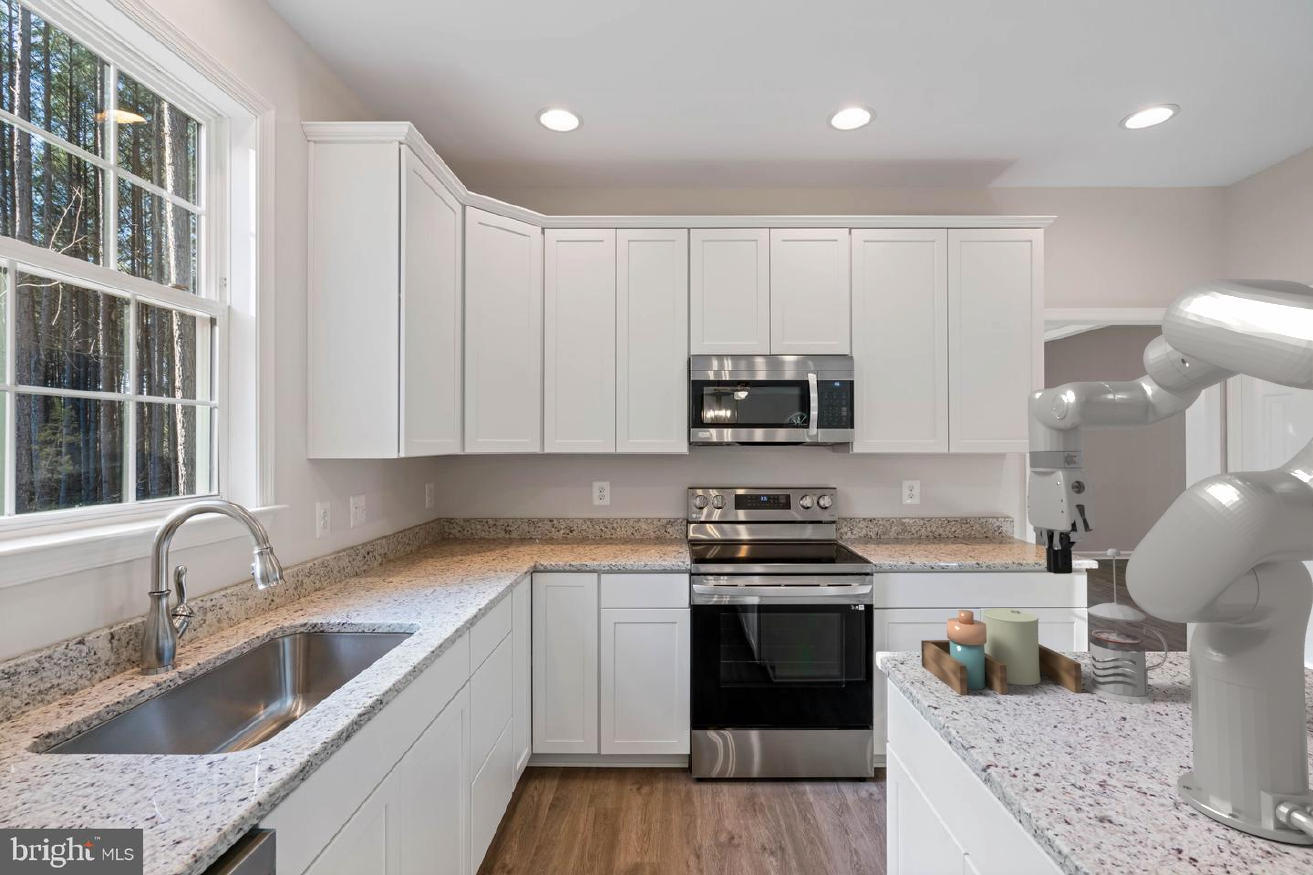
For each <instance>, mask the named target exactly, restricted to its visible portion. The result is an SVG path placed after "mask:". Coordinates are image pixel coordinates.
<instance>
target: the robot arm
mask: <svg viewBox="0 0 1313 875" xmlns="http://www.w3.org/2000/svg"><path fill="white" fill-rule="evenodd" d="M1161 332H1162V334H1160V335H1158V336H1157V337H1154V338H1153V339H1152V340H1150V342H1149V343H1148V344H1147V345H1146V347H1145V349H1144V351H1143V355H1142V358H1143V360H1142V361H1143V365H1144V369H1145V371H1146V373H1147V374H1145V375H1143V376H1141V377H1139V378H1136V379H1134V380H1130V381H1119V380H1118V381H1117V380H1116V381H1073V382H1068V383H1064V384H1061V385H1058V386H1056V387H1051V388H1050V387H1049V388H1044V389H1037V390H1034V391H1031V392H1030V393H1029V395H1028V396H1027V397H1028V398H1027V422H1028V423H1027V429H1028V455H1029V456H1028V458H1029V475H1028V483H1027V484H1028V485H1027V503H1026V506H1027V507H1026V508H1027V519H1028V523H1029V524H1030V525H1031V526H1032V527H1033V528H1032V530H1033V532H1034V534H1037V535H1039V536H1041V539H1042V543H1043V547H1044V548H1045V554H1046V557H1045V558H1046V571H1047V572H1048V573H1052V574H1055V575H1057V574H1058V575H1062V574H1063V575H1067V574H1068V575H1069V574H1072V573H1073V550H1074V549H1075V547H1076V546H1075V544H1076V543H1077V542H1084V541H1086V540H1087V535H1086V533H1090V532H1094V530H1095V528H1096V518H1095V517H1096V516H1095V507H1094V506H1095V505H1094V499H1093V498H1094V496H1093V492H1092V485H1091V482H1090V477H1089V474H1088V471H1086V470H1085V462H1084V457H1085V455H1084V433H1083V432H1084V431H1127V430H1128V431H1130V430H1136V429H1141V428H1146V427H1148V426H1152V425H1154V424H1156V423H1159V422H1161V421H1164V420H1167V419H1169V418H1172V417H1175V416H1177V415H1179V414H1181V413H1183V412H1185V411H1187V410H1188V409H1189V408H1190V407H1192V406H1193V404H1194V403H1195V402H1196V401H1197V400H1198V398H1199V397H1200V396H1201V393H1202V392H1203V391H1204V390H1206V389H1208V388H1211V387H1213V386H1216V385H1218V384H1219V383H1222V382H1224V381H1226V380H1229V379H1231V378H1234V377H1235V376H1236V377H1237V376H1238V375H1240V374H1242V375H1245V376H1248V377H1252V378H1255V379H1259V380H1262V381H1266V382H1268V383H1273V384H1277V385H1280V386H1284V387H1290V388H1296V389H1300V390H1307V391H1308V390H1310V391H1313V287H1312V286H1309V285H1307V284H1303V283H1301V282H1297V281H1293V280H1286V279H1285V280H1284V279H1256V278H1254V279H1246V278H1245V279H1244V278H1243V279H1242V278H1241V279H1239V278H1237V279H1236V278H1219V279H1211V280H1207V281H1203V282H1201V283H1198V284H1195V285H1192V286H1191V287H1189V288H1187V289H1186V290H1184V291H1182V292H1181V293H1180V294H1179V295H1177V296H1176V297H1175V298H1174V299H1173V300H1172V302H1170V303H1169V305H1168V306H1167V308H1166V309H1165V312H1164V313H1163V317H1162V321H1161ZM1307 561H1309V562H1311V561H1313V437H1311V438H1310V440H1309V441H1308V442H1307V443H1306V445H1304V446H1303V448H1302V449H1300V450H1299V451H1298V452H1297V453H1296V454H1295V455H1294V456H1293V457H1292V458H1290V459H1289V460H1288V461H1287V462H1286V463H1284V464H1283V465H1281V466H1279V467H1277V468H1273V469H1267V470H1261V471H1258V470H1257V471H1256V470H1255V471H1230V472H1223V473H1217V474H1213V475H1210V476H1208V477H1204V478H1203V479H1201V480H1199V481H1197V482H1195V483H1194V484H1192V485H1190V486H1189V487H1187V488H1186V489H1185V490H1184V491H1183V492H1181V494H1180V495H1179V496H1178V497H1177V498H1176V499H1175V500H1174V501H1173V502H1172V504H1171V505H1170V506H1169V507H1168V508H1167V509H1166V511H1165V512H1164V513H1163V514H1162V515H1161V517H1160V518H1159V519H1158V520H1157V522H1156V523H1154V525H1153V526H1152V527H1151V528H1150V530H1149V531H1147V533H1146V535H1145V536H1144V537H1143V538H1142V539H1141V541H1140V542H1139V543H1138V544H1137V546H1135V549H1134V550H1133V551H1132V553H1131V554H1130V557H1129V559H1128V561H1127V564H1126V568H1125V569H1126V570H1125V585H1126V589H1127V591H1128V593H1129V595H1130V597H1131V599H1132V600H1133V601H1134V604H1136V605H1137V606H1138V607H1139V608H1140V609H1141V610H1142V611H1144V612H1146V613H1147V614H1148V615H1150V616H1151V617H1154V618H1157V619H1159V620H1161V621H1165V622H1166V621H1167V622H1170V623H1179V624H1196V625H1195V627H1194V630H1193V632H1192V634H1191V639H1190V644H1189V655H1188V656H1189V677H1190V678H1189V681H1190V683H1189V684H1190V687H1189V688H1190V706H1191V707H1190V708H1191V712H1190V713H1191V732H1192V734H1191V736H1192V737H1191V738H1192V757H1193V758H1192V759H1193V762H1192V763H1193V771H1190V772H1185V773H1184V774H1181V775H1179V777H1178V778H1177V781H1176V782H1177V786H1176V787H1177V792H1178V794H1179V795H1180V797H1181V798H1182V799H1183V800H1185V801H1186V802H1187V804H1188V805H1190V806H1191V807H1193V808H1194V809H1196V810H1197V811H1198V812H1200V813H1201V814H1204V815H1205V816H1207V817H1209V818H1211V819H1213V820H1215V821H1217V822H1219V823H1221V824H1224V825H1226V826H1228V827H1231V828H1234V829H1235V830H1239V831H1242V832H1245V833H1248V834H1251V835H1254V836H1258V837H1261V838H1265V839H1268V840H1274V841H1278V842H1281V843H1282V842H1283V843H1288V844H1296V845H1313V790H1311V789H1310V773H1309V755H1308V754H1309V750H1308V729H1307V726H1308V725H1307V709H1306V706H1307V705H1306V676H1305V648H1306V647H1305V644H1306V635H1307V630H1308V624H1309V621H1310V617H1311V613H1312V608H1313V578H1312V575H1311V573H1310V571H1309V570H1308V568H1307V565H1305V563H1304V562H1307Z"/></svg>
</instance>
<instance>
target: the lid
mask: <svg viewBox="0 0 1313 875" xmlns="http://www.w3.org/2000/svg"><path fill="white" fill-rule="evenodd" d="M974 615H975V614H974V611H971V610H967V609H960V610H958V617H952V618H951V617H950V618H948V619H947V620H946V637H947V640H951V641H954V642H957V643H961V644H967V645H983V644H986V643H987V630H986V624H985V623H983V621H982V620H978V619H974V618H975V617H974Z"/></svg>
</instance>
